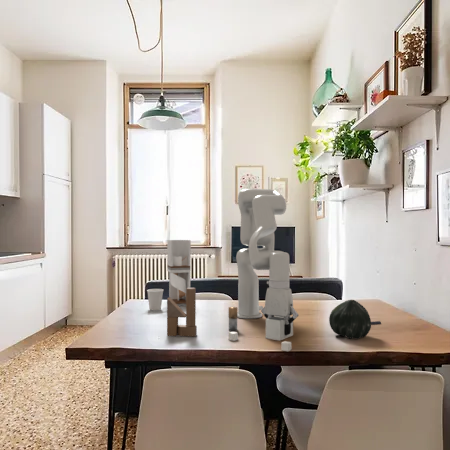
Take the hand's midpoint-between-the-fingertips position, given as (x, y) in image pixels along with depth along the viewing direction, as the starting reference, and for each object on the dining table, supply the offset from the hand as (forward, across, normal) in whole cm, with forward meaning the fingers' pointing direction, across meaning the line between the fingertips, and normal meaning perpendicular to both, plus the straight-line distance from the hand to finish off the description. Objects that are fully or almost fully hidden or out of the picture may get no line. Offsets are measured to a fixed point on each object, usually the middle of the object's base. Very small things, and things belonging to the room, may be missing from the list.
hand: (279, 332), depth 157 cm
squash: (+2, +21, +17) cm, 27 cm away
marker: (+1, +11, -14) cm, 18 cm away
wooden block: (+2, -30, -21) cm, 37 cm away
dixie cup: (+2, -78, +11) cm, 79 cm away
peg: (+2, -20, -2) cm, 20 cm away
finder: (+1, 0, 0) cm, 1 cm away
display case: (+2, -80, +30) cm, 85 cm away
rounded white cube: (+1, -11, -14) cm, 18 cm away
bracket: (+2, +13, +45) cm, 47 cm away
